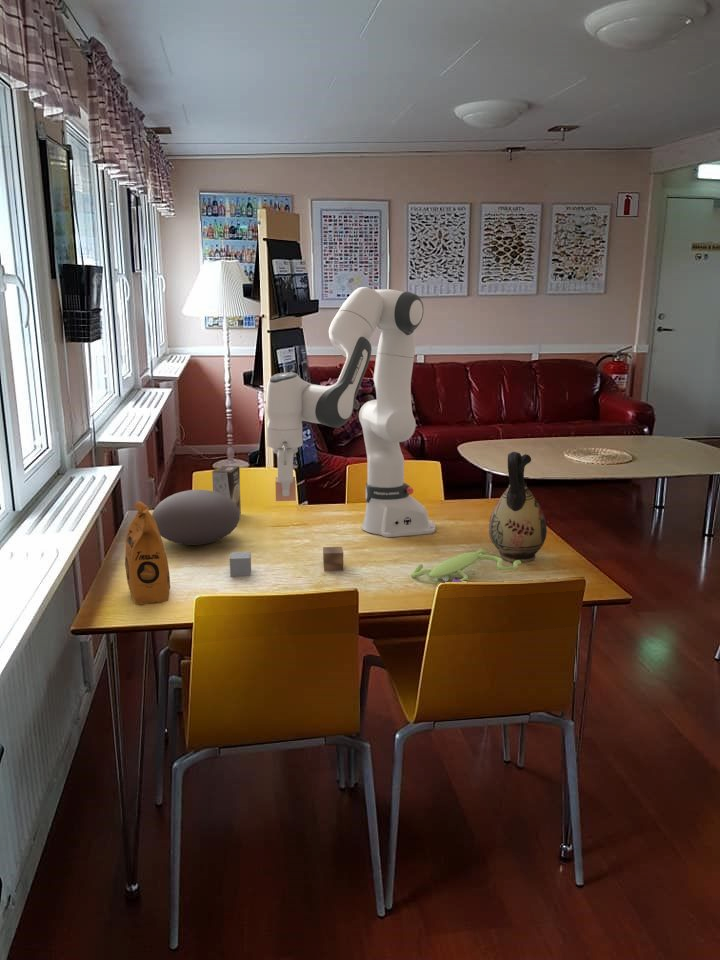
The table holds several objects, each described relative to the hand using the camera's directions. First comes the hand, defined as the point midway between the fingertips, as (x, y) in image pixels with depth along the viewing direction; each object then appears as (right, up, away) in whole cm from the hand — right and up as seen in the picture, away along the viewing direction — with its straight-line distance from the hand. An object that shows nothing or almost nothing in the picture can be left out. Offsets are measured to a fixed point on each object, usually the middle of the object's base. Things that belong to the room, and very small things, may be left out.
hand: (285, 492), depth 193 cm
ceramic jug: (+61, -19, +15) cm, 66 cm away
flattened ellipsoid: (-28, -15, +28) cm, 42 cm away
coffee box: (-24, -9, +52) cm, 58 cm away
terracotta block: (0, -2, 0) cm, 2 cm away
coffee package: (-32, -25, -12) cm, 42 cm away
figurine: (+46, -22, +2) cm, 51 cm away
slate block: (-12, -21, +3) cm, 24 cm away
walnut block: (+12, -20, +7) cm, 24 cm away
